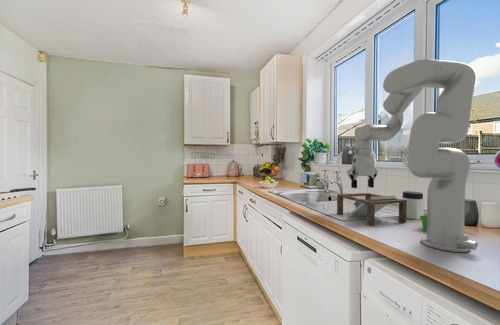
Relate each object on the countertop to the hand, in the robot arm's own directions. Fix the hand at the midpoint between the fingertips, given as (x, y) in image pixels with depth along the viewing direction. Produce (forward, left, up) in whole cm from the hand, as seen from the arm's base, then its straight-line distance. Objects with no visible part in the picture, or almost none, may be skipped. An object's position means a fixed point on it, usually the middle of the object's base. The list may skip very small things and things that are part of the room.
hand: (362, 187), depth 120 cm
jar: (-9, -21, -14) cm, 27 cm away
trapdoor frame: (-5, 0, -14) cm, 15 cm away
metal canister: (-1, 0, -11) cm, 11 cm away
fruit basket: (-27, -13, -14) cm, 33 cm away
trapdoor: (-6, 0, -9) cm, 11 cm away
